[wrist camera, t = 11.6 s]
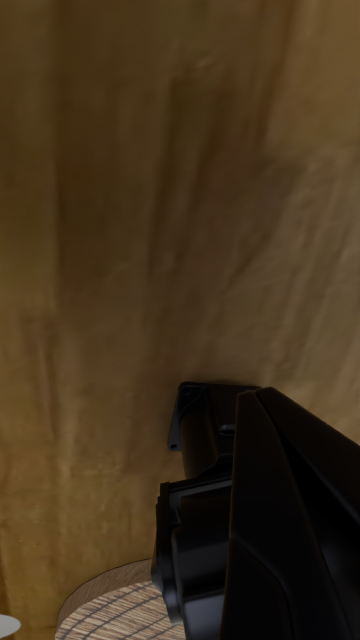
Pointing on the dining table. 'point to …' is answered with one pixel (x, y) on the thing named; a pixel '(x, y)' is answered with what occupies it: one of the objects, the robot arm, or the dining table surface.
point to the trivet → (118, 608)
